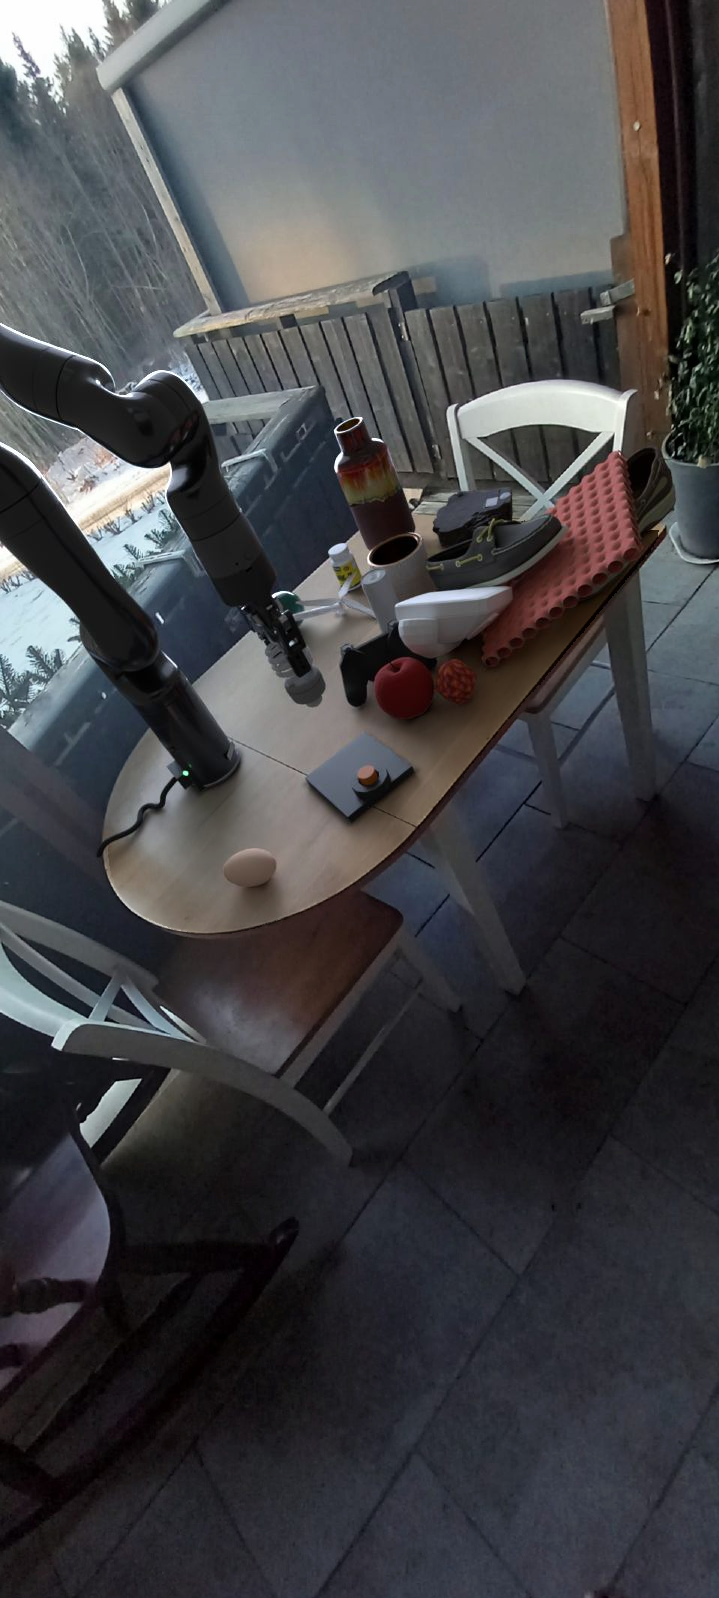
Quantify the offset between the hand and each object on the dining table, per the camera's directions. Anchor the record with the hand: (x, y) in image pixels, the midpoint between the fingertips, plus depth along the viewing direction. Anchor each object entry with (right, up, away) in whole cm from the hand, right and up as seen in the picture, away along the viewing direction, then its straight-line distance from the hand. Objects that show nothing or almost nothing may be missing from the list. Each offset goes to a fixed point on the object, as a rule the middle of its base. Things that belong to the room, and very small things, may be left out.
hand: (293, 665), depth 100 cm
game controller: (+14, +3, +26) cm, 30 cm away
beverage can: (+16, +12, +35) cm, 40 cm away
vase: (+16, +34, +56) cm, 68 cm away
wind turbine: (-9, +15, +41) cm, 45 cm away
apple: (+17, -4, +18) cm, 25 cm away
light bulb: (+3, -5, +5) cm, 8 cm away
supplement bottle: (+8, +26, +53) cm, 59 cm away
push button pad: (+9, -15, +12) cm, 21 cm away
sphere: (-4, +16, +50) cm, 52 cm away
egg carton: (+40, +19, +17) cm, 48 cm away
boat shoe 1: (+33, +19, +23) cm, 44 cm away
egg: (-3, -27, +2) cm, 27 cm away
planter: (+19, +21, +42) cm, 50 cm away
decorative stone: (+25, -3, +15) cm, 29 cm away
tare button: (+10, -15, +7) cm, 20 cm away
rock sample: (+32, +37, +50) cm, 70 cm away
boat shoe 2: (+52, +24, +26) cm, 63 cm away
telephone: (+23, +14, +17) cm, 32 cm away
